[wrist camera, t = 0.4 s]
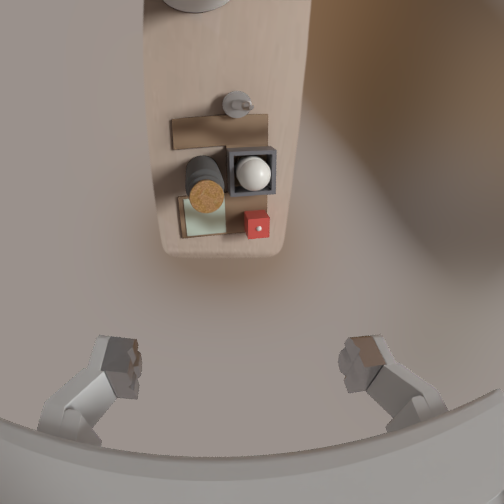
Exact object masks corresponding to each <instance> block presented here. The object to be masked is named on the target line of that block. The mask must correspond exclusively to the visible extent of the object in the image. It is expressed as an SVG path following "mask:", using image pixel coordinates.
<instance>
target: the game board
mask: <svg viewBox="0 0 504 504" xmlns="http://www.w3.org/2000/svg"><path fill="white" fill-rule="evenodd" d="M172 132H173V147H174V150H176V149H186V148H197V147H209V146H224V145H226V148H237V147H261V146H268V114H247V115H245V116H244V117H241V118H232V117H230V116H228V115H218V116H202V117H189V118H179V119H172ZM243 156H245V155H240V156H234V186H242V185H241V184H240V182H239V181H238V179H237V177H236V175H235V165H236V163H237V161H238V160H239V159H240V158H241V157H243ZM256 156H258V157H260V158H261V159H262V160H263V161H264V162H265V163H267V154H263V155H256ZM226 159H227V149H226ZM227 189H228V181H227ZM178 203H179V212H180V221H181V229H182V237H183V238H192V237H201V236H211V235H221V234H232V233H242V232H245V227H244V211H254V210H265V211H266V213H267V195H254V196H240V197H230V194H229V192H224V200H223V203H222V205H221V206H220V208H219V209H217V210H216V211H214V212H212V213H201V212H198V211H196V210H195V209H194V208H193V207H192V205H191V203H190V200H189V197H188V196H179V197H178Z"/></svg>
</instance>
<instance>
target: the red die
mask: <svg viewBox="0 0 504 504" xmlns="http://www.w3.org/2000/svg"><path fill="white" fill-rule="evenodd" d="M269 225H270V217H269V216H268V214H267V213H266V211H265V210H254V211H244V227H245V232H246V235H247V237H248V239H255V238H266V237H269Z"/></svg>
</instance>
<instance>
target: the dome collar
mask: <svg viewBox="0 0 504 504" xmlns="http://www.w3.org/2000/svg"><path fill="white" fill-rule="evenodd" d="M226 149H227V181H228V192H229V194H230V197H240V196H254V195H269V194H276V149H274V148H272V147H271V146H261V147H237V148H226ZM263 154H267V165H268V166H269V168H270V171H271V177H270V181H269V183H268V184H267V185H266V186H265V187H264V188H263V189H261V190H258V191H250V190H247V189H245V188H244V187H243V186H234V156H240V155H263Z"/></svg>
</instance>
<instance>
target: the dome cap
mask: <svg viewBox="0 0 504 504" xmlns="http://www.w3.org/2000/svg"><path fill="white" fill-rule="evenodd" d="M235 175H236V177H237V179H238V181H239V182H240V184H241V185H242V186H243V187H244V188H245V189H247V190H250V191H258V190H261V189H263V188H264V187H265V186H266V185H267V184H268V183H269V181H270V177H271V171H270V168H269V166H268V165H267V163H265V162H264V161H263V160H262V159H261V158H260V157H258V156H256V155H245V156H243V157H241V158H240V159H239V160H238V161H237V163H236V165H235Z"/></svg>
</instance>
